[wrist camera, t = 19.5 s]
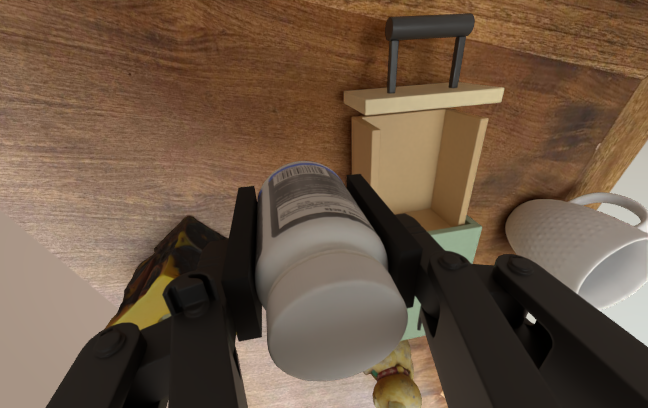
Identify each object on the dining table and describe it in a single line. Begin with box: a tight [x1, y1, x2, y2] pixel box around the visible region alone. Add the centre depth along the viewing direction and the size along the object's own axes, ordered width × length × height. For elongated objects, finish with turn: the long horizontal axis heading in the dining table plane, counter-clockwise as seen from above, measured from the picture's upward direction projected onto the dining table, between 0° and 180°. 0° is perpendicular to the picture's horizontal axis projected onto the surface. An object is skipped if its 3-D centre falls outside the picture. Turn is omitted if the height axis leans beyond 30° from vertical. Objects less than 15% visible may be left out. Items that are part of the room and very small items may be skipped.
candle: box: [105, 217, 237, 335], centre depth 30 cm, size 10×10×10 cm
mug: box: [505, 192, 648, 310], centre depth 36 cm, size 15×11×13 cm
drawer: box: [344, 14, 504, 231], centre depth 28 cm, size 21×12×7 cm, turn 3°
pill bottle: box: [255, 161, 408, 381], centre depth 11 cm, size 5×5×8 cm
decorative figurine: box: [363, 340, 422, 408], centre depth 41 cm, size 10×8×15 cm
